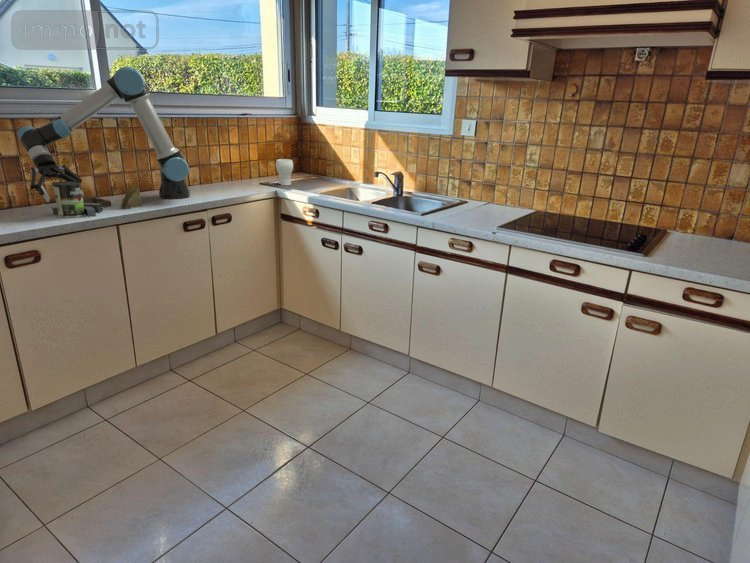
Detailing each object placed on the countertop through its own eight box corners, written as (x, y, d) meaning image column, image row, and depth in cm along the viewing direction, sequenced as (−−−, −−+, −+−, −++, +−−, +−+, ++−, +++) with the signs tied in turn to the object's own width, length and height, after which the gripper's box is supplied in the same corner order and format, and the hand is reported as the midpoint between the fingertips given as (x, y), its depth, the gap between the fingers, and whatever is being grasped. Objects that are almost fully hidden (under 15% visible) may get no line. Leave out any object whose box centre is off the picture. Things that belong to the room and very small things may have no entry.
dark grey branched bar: (92, 217, 214) (91, 209, 213) (49, 214, 216) (47, 206, 215) (108, 211, 225) (106, 204, 224) (66, 209, 226) (65, 201, 225)
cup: (292, 186, 306) (291, 161, 301) (274, 185, 306) (274, 160, 301) (294, 183, 316) (294, 159, 311) (278, 182, 316) (277, 158, 311)
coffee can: (91, 214, 220) (86, 181, 215) (73, 218, 210) (68, 185, 205) (70, 212, 221) (65, 180, 217) (52, 217, 212) (46, 183, 207)
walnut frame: (111, 206, 236) (110, 201, 235) (81, 210, 225) (80, 205, 224) (96, 202, 243) (95, 197, 242) (65, 206, 232) (64, 201, 232)
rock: (122, 205, 227) (145, 200, 233) (115, 189, 228) (137, 184, 233) (121, 216, 236) (142, 210, 241) (113, 200, 236) (135, 195, 242)
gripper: (70, 162, 227) (93, 199, 224) (8, 167, 207) (31, 207, 205) (74, 151, 222) (97, 189, 220) (10, 155, 203) (35, 196, 200)
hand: (65, 198), depth 212 cm, fingers open, 13 cm apart
